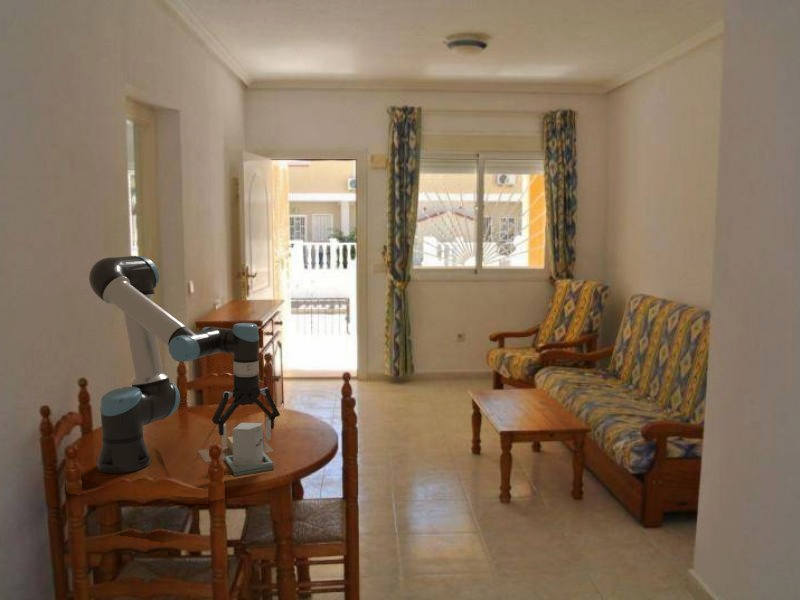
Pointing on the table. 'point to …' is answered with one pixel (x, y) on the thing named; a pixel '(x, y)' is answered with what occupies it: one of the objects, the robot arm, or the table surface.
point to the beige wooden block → (230, 444)
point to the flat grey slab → (227, 452)
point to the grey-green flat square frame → (249, 466)
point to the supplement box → (248, 444)
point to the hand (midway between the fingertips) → (246, 442)
